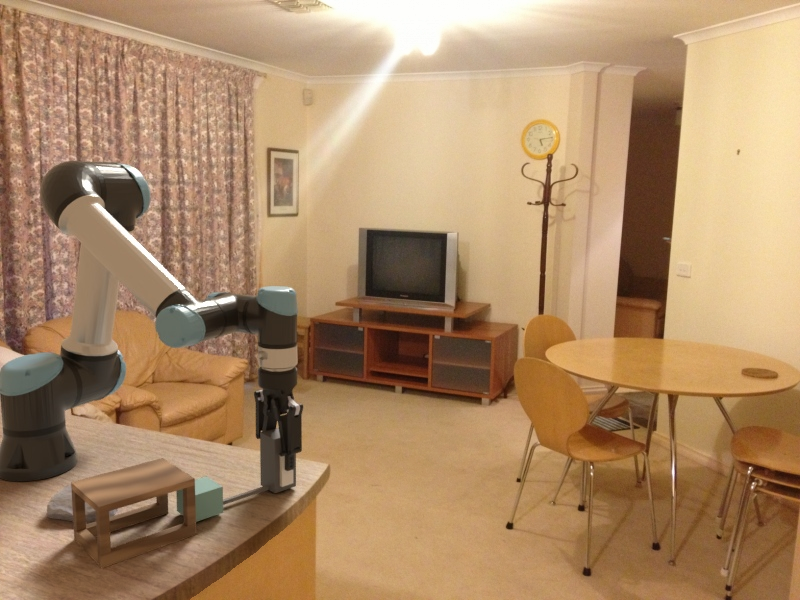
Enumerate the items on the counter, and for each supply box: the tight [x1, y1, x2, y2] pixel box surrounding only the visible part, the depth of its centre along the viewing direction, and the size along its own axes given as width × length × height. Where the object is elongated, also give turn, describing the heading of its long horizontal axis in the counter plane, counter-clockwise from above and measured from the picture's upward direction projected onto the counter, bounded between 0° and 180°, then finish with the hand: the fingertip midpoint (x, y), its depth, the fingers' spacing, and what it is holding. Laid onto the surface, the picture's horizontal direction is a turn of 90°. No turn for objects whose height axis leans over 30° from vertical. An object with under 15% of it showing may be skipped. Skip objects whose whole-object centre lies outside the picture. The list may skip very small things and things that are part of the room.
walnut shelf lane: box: [70, 457, 197, 569], centre depth 117 cm, size 12×16×10 cm
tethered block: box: [175, 427, 297, 523], centre depth 130 cm, size 6×22×11 cm, turn 134°
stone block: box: [46, 483, 119, 524], centre depth 126 cm, size 12×5×10 cm
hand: (278, 479), depth 137 cm, fingers closed on tethered block, 5 cm apart
